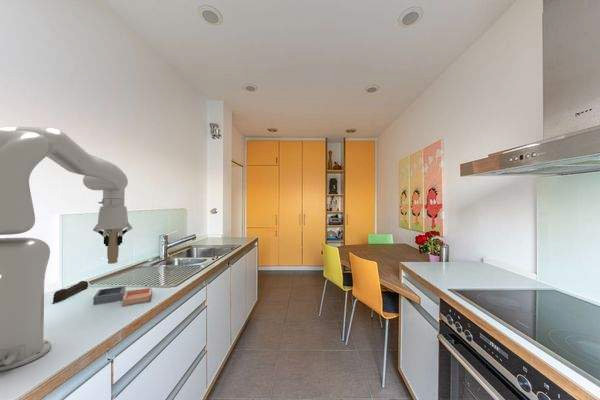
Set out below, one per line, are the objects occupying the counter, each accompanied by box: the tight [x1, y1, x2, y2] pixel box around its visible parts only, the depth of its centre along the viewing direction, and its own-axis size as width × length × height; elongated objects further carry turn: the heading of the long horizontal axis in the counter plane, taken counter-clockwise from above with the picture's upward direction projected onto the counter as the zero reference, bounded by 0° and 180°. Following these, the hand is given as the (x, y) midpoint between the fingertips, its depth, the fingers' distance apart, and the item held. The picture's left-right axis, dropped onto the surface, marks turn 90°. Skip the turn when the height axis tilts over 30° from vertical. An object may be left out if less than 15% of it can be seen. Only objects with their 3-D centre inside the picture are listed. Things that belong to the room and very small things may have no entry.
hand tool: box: [52, 280, 89, 304], centre depth 110 cm, size 19×4×5 cm, turn 10°
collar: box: [92, 285, 126, 306], centre depth 106 cm, size 10×10×3 cm
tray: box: [121, 287, 153, 307], centre depth 105 cm, size 12×10×2 cm
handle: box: [106, 229, 124, 265], centre depth 106 cm, size 5×6×15 cm
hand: (113, 245), depth 106 cm, fingers closed on handle, 3 cm apart
